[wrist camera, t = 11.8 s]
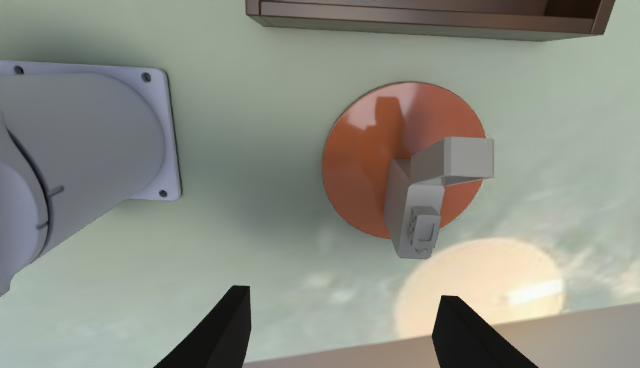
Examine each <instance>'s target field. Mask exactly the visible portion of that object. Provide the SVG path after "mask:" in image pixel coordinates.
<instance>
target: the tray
mask: <svg viewBox="0 0 640 368" xmlns="http://www.w3.org/2000/svg"><path fill="white" fill-rule="evenodd" d="M245 1H246V15H247V16H249V17H250V18H252V19H253V20H255V21H256V22H258V23H259V24H261V25H262V26H265V27H284V28H302V29H321V30H339V31H357V32H376V33H394V34H413V35H431V36H449V37H468V38H486V39H505V40H523V41H541V42H543V41H552V40H561V39H570V38H579V37H588V36H597V35H603V34H604V32H605V29H606V26H607V23H608V20H609V17H610V14H611V12H612V9H613V6H614V3H615V0H245Z"/></svg>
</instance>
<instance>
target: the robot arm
mask: <svg viewBox="0 0 640 368" xmlns="http://www.w3.org/2000/svg"><path fill="white" fill-rule="evenodd" d="M20 68H22V69H23V71H24V74H23V73H22V72H21V70H20ZM146 73H148V74H149V75H150V77H151V80H150V82H148V81H147V80H146V78H145V74H146ZM162 190H165V191H166V192H167V195H164V194H163V193H162ZM180 196H181V187H180V178H179V170H178V162H177V154H176V146H175V138H174V130H173V122H172V114H171V105H170V97H169V89H168V81H167V76H166V74H165V72H164V71H163V70H161V69H158V68H144V67H125V66H106V65H88V64H69V63H50V62H31V61H12V60H0V297H1V296H2V295H4V294H5V293H6V292H8V291H9V289H10V282H11V280H12V278H13V276H14V275H15V274H16V273H17V272H19V271H20V270H21V269H23V268H24V267H26V266H27V265H29V264H31V263H32V262H34V261H35V260H37V259H38V258H40V257H41V256H43V255H44V254H46V253H47V252H48V251H50V250H51V249H53V248H54V247H56V246H57V245H59V244H60V243H62V242H63V241H65V240H66V239H68V238H69V237H71V236H72V235H74V234H75V233H77V232H78V231H80V230H81V229H83V228H84V227H85V226H87V225H88V224H90V223H91V222H93V221H94V220H96V219H97V218H99V217H100V216H102V215H103V214H105V213H106V212H108V211H109V210H111V209H112V208H114V207H115V206H117V205H118V204H120V203H121V202H123V201H124V200H125V199H142V200H162V201H175V200H177V199H178V198H179V197H180ZM250 332H251V307H250V286H237V285H233V286H232V287H231V288H230V289H229V290H228V291H227V293H226V294H225V295H224V296H223V297H222V299H221V300H220V301H219V302H218V303H217V304H216V306H215V307H214V308H213V309H212V310H211V311H210V312H209V314H208V315H207V316H206V317H205V318H204V319H203V320H202V321H201V322H200V323H199V324H198V325H197V326H196V328H195V329H194V330H193V331H192V332H191V333H190V334H189V335H188V336H187V337H186V338H185V339H184V340H183V341H182V342H181V343H179V344H178V345H177V346H176V347H175V348H174V349H173V350H172V351H171V352H170V353H169V354H168V355H167V356H166V357H165V358H164V359H162V360H161V361H160V362H159V363H158V364H157V365H156V366H154V367H153V368H242V365H243V362H244V359H245V356H246V351H247V347H248V342H249V337H250ZM432 339H433V344H434V347H435V351H436V355H437V358H438V362H439V365H440V368H538V367H537V366H536V365H535V364H534V363H532V362H531V361H530V360H529V359H528V358H526V357H525V356H524V355H523V354H522V353H520V352H519V351H518V350H517V349H516V348H515V347H513V346H512V345H511V344H510V343H509V342H507V340H505V339H504V338H503V337H502V336H501V335H500V334H499V333H497V332H496V331H495V330H494V329H493V328H492V327H491V326H490V325H489V324H488V323H487V322H486V321H485V320H483V319H482V318H481V317H480V316H479V315H478V314H477V313H476V312H475V311H474V310H473V309H472V308H471V307H469V306H468V305H467V304H466V303H465V302H464V301H463V300H462V299H461V298H459V297H458V296H445V295H442V296H441V300H440V304H439V308H438V312H437V317H436V321H435V325H434V329H433V333H432Z"/></svg>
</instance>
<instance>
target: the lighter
mask: <svg viewBox="0 0 640 368" xmlns="http://www.w3.org/2000/svg"><path fill="white" fill-rule="evenodd" d="M489 178H494V140H493V139H490V138H470V137H444V138H443V139H441V140H439V141H437V142H435V143H434V144H432V145H430V146H428V147H426V148H425V149H423V150H421V151H419V152H418V153H416V154H414V155H412V156H411V159H392V160H391V161H390V167H389V174H388V182H387V189H386V196H385V203H384V211H383V219H384V222H385V224H386V227H387V230H388V232H389V235H390V237H391V240H392V242H393V245H394V248H395V250H396V253H397V255H398V256H399V257H400V258H409V259H428V258H429V257H431V253H432V248H435V244H436V239H437V235H438V230H439V225H440V221H441V216H440V210H441V206H442V201H443V196H444V191H445V189H444V187H443V186H450V185H455V184H461V183H467V182H472V181H478V180H484V179H489Z"/></svg>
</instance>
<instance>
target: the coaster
mask: <svg viewBox="0 0 640 368" xmlns="http://www.w3.org/2000/svg"><path fill="white" fill-rule="evenodd" d="M444 137H470V138H486V136H485V132H484V129H483V127H482V125H481V122H480V120H479V119H478V117H477V115H476V114H475V112H474V111H473V110H472V109H471V107H470V106H469V105H468V104H467V103H466V102H465V101H464V100H462V99H461V98H460V97H459V96H457V95H456V94H454V93H452V92H451V91H449V90H446V89H444V88H442V87H439V86H436V85H432V84H428V83H421V82H400V83H393V84H389V85H386V86H382V87H379V88H377V89H375V90H372V91H370V92H368V93H367V94H365V95H363V96H362V97H360V98H359V99H357V100H356V101H355V102H354V103H352V104H351V105H350V106H349V107H348V108H347V109H346V110H345V111H344V112H343V113H342V114H341V116H340V117H339V118H338V120H337V121H336V122H335V124H334V126H333V128H332V129H331V131H330V133H329V136H328V138H327V141H326V144H325V148H324V152H323V160H322V175H323V182H324V186H325V189H326V193H327V195H328V197H329V199H330V202H331V203H332V205H333V206H334V208H335V209H336V211H337V212H338V213H339V214H340V215H341V217H342V218H344V219H345V220H346V221H347V222H348V223H349V224H351V225H352V226H354V227H355V228H357V229H359V230H361V231H363V232H365V233H367V234H370V235H373V236H376V237H381V238H387V239H391V237H390V235H389V232H388V230H387V227H386V224H385V222H384V219H383V211H384V203H385V196H386V189H387V182H388V174H389V167H390V161H391V160H392V159H411V156H412V155H414V154H416V153H418V152H419V151H421V150H423V149H425V148H426V147H428V146H430V145H432V144H434V143H435V142H437V141H439V140H441V139H443V138H444ZM482 181H483V180H478V181H472V182H467V183H461V184H455V185H450V186H443V187H444V189H445V191H444V196H443V201H442V206H441V210H440V216H441V221H440V225H439V229H440V228H442V227H443V226H445V225H446V224H448V223H450V222H451V221H452V220H453V219H455V218H456V217H457V216H458V215H459V214H460V213H462V212H463V211H464V210H465V209H466V207H467V206H468V205H469V204H470V202H471V201H472V200H473V198H474V197H475V195H476V193H477V192H478V190H479V188H480V185H481V183H482Z"/></svg>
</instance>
